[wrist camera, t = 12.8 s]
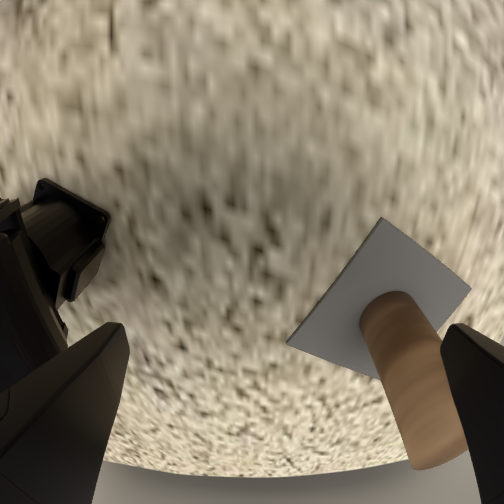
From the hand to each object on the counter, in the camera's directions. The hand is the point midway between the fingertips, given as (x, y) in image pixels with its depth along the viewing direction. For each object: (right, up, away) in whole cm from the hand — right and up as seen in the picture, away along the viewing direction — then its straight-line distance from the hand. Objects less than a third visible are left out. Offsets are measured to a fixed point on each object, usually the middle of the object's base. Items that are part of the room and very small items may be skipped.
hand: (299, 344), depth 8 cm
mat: (+10, -3, +16) cm, 19 cm away
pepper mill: (+10, -3, +15) cm, 18 cm away
